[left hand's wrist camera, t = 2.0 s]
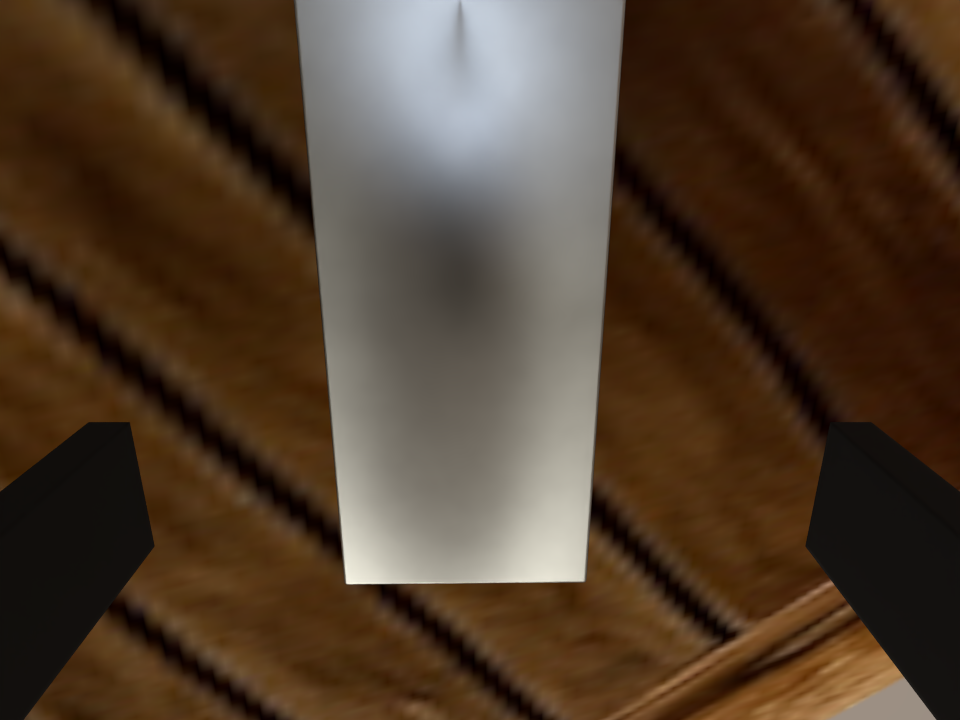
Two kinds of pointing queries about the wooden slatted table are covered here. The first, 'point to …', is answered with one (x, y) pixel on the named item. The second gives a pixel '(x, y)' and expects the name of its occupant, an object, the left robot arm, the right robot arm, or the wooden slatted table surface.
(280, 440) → the wooden slatted table surface
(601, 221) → the bar
